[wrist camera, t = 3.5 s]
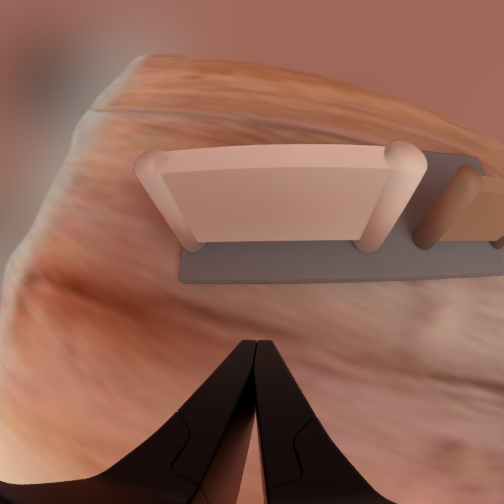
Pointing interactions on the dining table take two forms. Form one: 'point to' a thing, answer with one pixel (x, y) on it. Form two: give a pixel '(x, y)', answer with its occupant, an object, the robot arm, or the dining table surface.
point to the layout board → (393, 248)
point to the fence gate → (282, 191)
